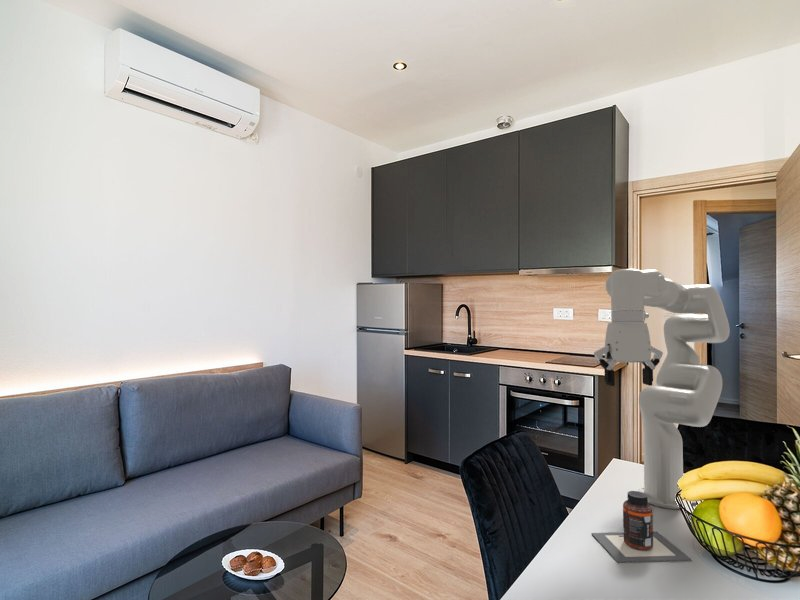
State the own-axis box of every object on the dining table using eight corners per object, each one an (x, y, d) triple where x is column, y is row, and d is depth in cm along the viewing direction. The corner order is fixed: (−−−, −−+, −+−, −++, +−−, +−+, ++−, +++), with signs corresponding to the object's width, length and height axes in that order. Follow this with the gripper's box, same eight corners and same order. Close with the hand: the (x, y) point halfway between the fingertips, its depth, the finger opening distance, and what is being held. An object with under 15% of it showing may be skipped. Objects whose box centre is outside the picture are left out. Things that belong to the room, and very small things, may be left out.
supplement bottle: (657, 552, 97) (656, 500, 97) (628, 550, 98) (627, 498, 99) (647, 539, 103) (647, 489, 103) (620, 536, 104) (619, 487, 104)
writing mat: (657, 532, 107) (657, 530, 107) (691, 560, 95) (691, 558, 95) (591, 534, 106) (591, 532, 106) (617, 562, 94) (617, 560, 94)
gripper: (652, 317, 118) (653, 382, 118) (587, 317, 117) (588, 383, 117) (670, 317, 110) (671, 387, 110) (601, 318, 110) (602, 388, 109)
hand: (628, 384), depth 113 cm, fingers open, 9 cm apart
